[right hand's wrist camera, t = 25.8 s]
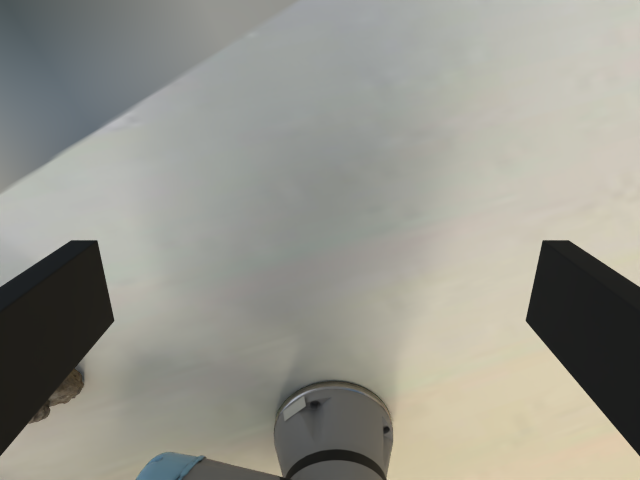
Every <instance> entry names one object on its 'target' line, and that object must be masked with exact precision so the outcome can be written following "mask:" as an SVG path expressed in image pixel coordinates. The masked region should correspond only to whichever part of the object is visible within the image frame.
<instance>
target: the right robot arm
mask: <svg viewBox="0 0 640 480" xmlns="http://www.w3.org/2000/svg"><path fill="white" fill-rule="evenodd" d="M113 322H114V317H113V312H112V308H111V303H110V298H109V293H108V289H107V284H106V279H105V275H104V270H103V265H102V260H101V256H100V251H99V246H98V242H97V240H71V241H70V242H68V243H67V244H65V245H64V246H62V247H61V248H59V249H58V250H56V251H55V252H53V253H51V254H50V255H48V256H47V257H45V258H44V259H42V260H41V261H39V262H38V263H36V264H35V265H33V266H32V267H30V268H29V269H27V270H26V271H24V272H23V273H21V274H20V275H18V276H16V277H15V278H13V279H12V280H10V281H9V282H7V283H6V284H4V285H3V286H1V287H0V456H1V455H2V453H3V452H4V451H5V450H6V449H7V447H8V446H9V445H10V444H11V443H12V442H13V440H14V439H15V438H16V437H17V436H18V434H19V433H20V432H21V431H22V430H23V429H24V427H25V426H26V425H27V424H28V423H29V421H30V420H31V419H32V418H33V417H34V415H35V414H36V413H37V412H38V411H39V410H40V408H41V407H42V406H43V405H44V404H45V402H46V401H47V400H48V399H49V398H50V397H51V395H52V394H53V393H54V392H55V391H56V389H57V388H58V387H59V386H60V385H61V383H62V382H63V381H64V380H65V379H66V378H67V376H68V375H69V374H70V373H71V372H72V370H73V369H74V368H75V367H76V366H77V364H78V363H79V362H80V361H81V360H82V359H83V357H84V356H85V355H86V354H87V353H88V351H89V350H90V349H91V348H92V347H93V346H94V344H95V343H96V342H97V341H98V340H99V338H100V337H101V336H102V335H103V334H104V332H105V331H106V330H107V329H108V328H109V327H110V325H111V324H112V323H113ZM526 322H527V323H528V324H529V325H530V327H531V328H532V329H533V330H534V331H535V332H536V334H537V335H538V336H539V337H540V338H541V340H542V341H543V342H544V343H545V344H546V346H547V347H548V348H549V349H550V350H551V351H552V353H553V354H554V355H555V356H556V357H557V359H558V360H559V361H560V362H561V363H562V364H563V366H564V367H565V368H566V369H567V370H568V372H569V373H570V374H571V375H572V376H573V378H574V379H575V380H576V381H577V382H578V383H579V385H580V386H581V387H582V388H583V389H584V391H585V392H586V393H587V394H588V395H589V397H590V398H591V399H592V400H593V401H594V402H595V404H596V405H597V406H598V407H599V408H600V410H601V411H602V412H603V413H604V414H605V415H606V417H607V418H608V419H609V420H610V421H611V423H612V424H613V425H614V426H615V427H616V429H617V430H618V431H619V432H620V433H621V434H622V436H623V437H624V438H625V439H626V440H627V442H628V443H629V444H630V445H631V446H632V447H633V449H634V450H635V451H636V452H637V453H638V455H639V456H640V287H639V286H637V285H636V284H634V283H633V282H631V281H630V280H628V279H627V278H625V277H624V276H622V275H620V274H619V273H617V272H616V271H614V270H613V269H611V268H610V267H608V266H607V265H605V264H604V263H602V262H601V261H599V260H598V259H596V258H595V257H593V256H592V255H590V254H589V253H587V252H585V251H584V250H582V249H581V248H579V247H578V246H576V245H575V244H573V243H572V242H570V241H569V240H543V242H542V246H541V251H540V256H539V260H538V265H537V270H536V275H535V279H534V284H533V289H532V293H531V298H530V303H529V308H528V312H527V317H526ZM274 443H275V449H276V452H277V456H278V460H279V464H280V468H281V472H282V475H283V477H279V476H276V475H272V474H268V473H264V472H259V471H255V470H251V469H247V468H242V467H238V466H234V465H230V464H226V463H222V462H218V461H214V460H210V459H206V457H205V456H198V457H196V456H190V455H184V454H178V453H173V452H166V453H162V454H160V455H157V456H156V457H154V458H153V459H152V460H151V461H150V462H149V463H148V464H147V465H146V466H145V467H144V468H143V470H142V471H141V472H140V474H139V475H138V477H137V478H136V480H387V479H386V477H387V472H388V466H389V461H390V456H391V450H392V445H393V428H392V423H391V418H390V414H389V412H388V410H387V408H386V406H385V404H384V403H383V402H382V401H381V400H380V399H379V398H378V397H377V396H376V395H375V394H374V393H372V392H371V391H369V390H367V389H365V388H363V387H361V386H358V385H355V384H351V383H346V382H337V381H330V382H321V383H316V384H312V385H310V386H307V387H304V388H302V389H300V390H299V391H297V392H295V393H294V394H292V395H291V396H290V397H289V398H288V399H287V400H286V401H285V402H284V403H283V404H282V406H281V408H280V409H279V411H278V413H277V416H276V420H275V427H274Z"/></svg>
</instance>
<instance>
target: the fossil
mask: <svg viewBox="0 0 640 480" xmlns="http://www.w3.org/2000/svg"><path fill="white" fill-rule="evenodd" d="M83 386H84V383H83V382H82V375H81V374H80V373H79V372H78V371H77V370H75V369H73V370H72V372H71V373H70V374H69V375H68V376H67V378H66V379H65V380H64V381H63V382H62V383H61V385H60V386H59V387H58V388H57V389H56V391H55V392H54V393H53V394H52V395H51V397H50V398H49V399H48V400H47V401H46V402H45V404H44V405H43V406H42V407H41V408H40V410H39V411H38V412H37V413H36V414H35V415H34V417H33V418H32V419H31V420H30V421H29V423H33V422H38V421H40V420H42V419H45V418H46V417H48V415H49V412H50V408H49V407H50V406H54V405H57V404H59V403H67V402H69V401H70V399H71V398H75V397H76V395H78V394H79V393H80V391H81V390H82V388H83Z"/></svg>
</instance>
